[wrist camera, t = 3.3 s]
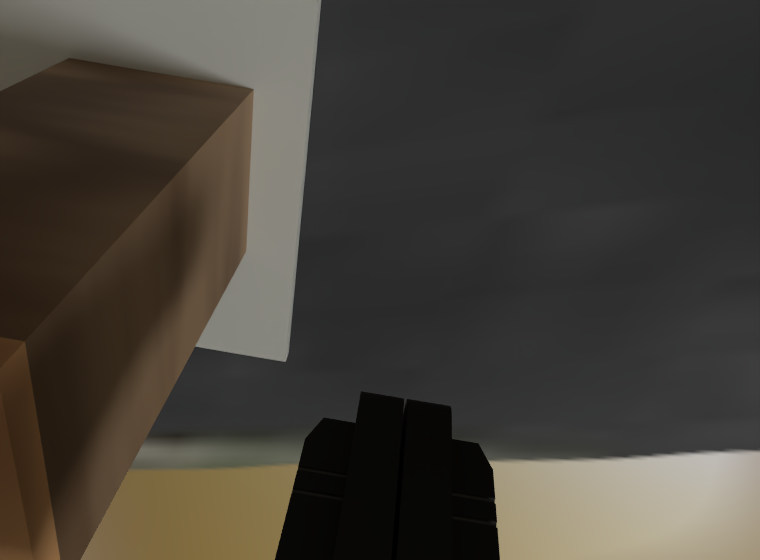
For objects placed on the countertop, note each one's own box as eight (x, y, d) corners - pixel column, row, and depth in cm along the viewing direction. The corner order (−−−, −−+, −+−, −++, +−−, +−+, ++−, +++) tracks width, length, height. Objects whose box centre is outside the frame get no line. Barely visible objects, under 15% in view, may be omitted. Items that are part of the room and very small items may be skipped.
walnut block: (84, 223, 21) (-275, 568, 10) (69, 58, 18) (-431, 299, 8) (246, 251, 21) (46, 622, 10) (253, 89, 18) (-3, 371, 8)
